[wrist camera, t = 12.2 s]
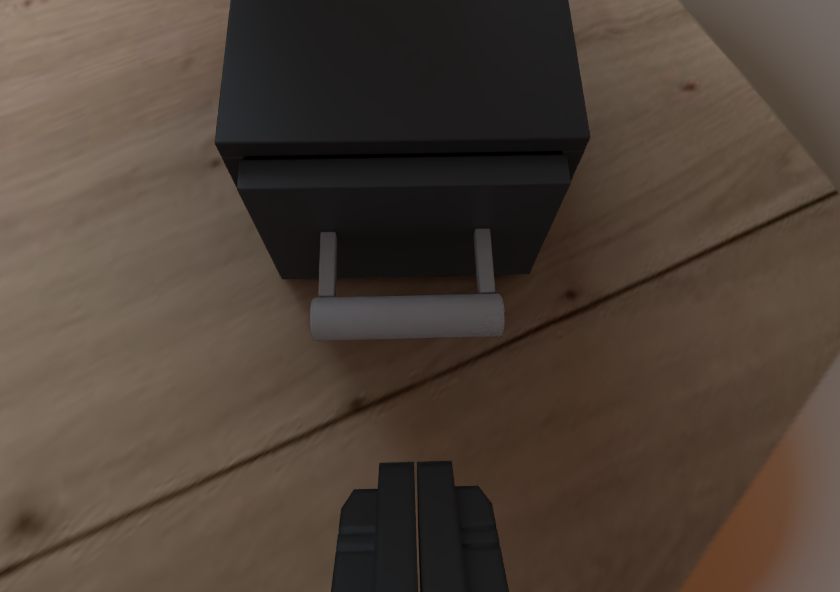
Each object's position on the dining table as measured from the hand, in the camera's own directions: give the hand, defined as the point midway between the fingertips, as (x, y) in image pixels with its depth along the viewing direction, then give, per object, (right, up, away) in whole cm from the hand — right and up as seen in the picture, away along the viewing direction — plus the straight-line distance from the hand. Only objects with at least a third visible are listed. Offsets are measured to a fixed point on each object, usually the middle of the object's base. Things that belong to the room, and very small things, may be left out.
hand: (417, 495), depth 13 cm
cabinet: (-1, +13, +19) cm, 23 cm away
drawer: (-1, +9, +17) cm, 19 cm away
